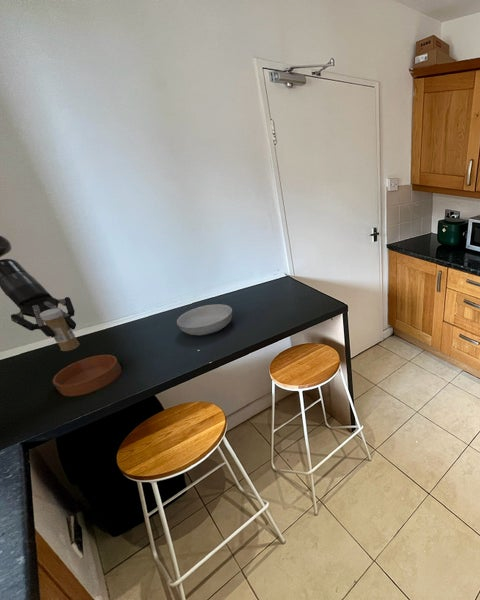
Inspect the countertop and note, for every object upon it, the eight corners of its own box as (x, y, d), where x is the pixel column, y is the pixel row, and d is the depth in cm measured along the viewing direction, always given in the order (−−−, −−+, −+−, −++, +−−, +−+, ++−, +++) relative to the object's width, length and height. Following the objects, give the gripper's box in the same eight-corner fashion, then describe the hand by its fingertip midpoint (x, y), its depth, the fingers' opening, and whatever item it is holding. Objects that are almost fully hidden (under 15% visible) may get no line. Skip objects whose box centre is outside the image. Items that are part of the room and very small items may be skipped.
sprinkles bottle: (84, 344, 103) (63, 308, 97) (68, 352, 99) (46, 315, 93) (72, 342, 103) (52, 307, 97) (57, 350, 100) (34, 314, 93)
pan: (63, 404, 98) (55, 393, 96) (56, 381, 108) (50, 371, 106) (126, 377, 109) (121, 367, 107) (116, 359, 119) (111, 349, 117)
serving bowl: (245, 323, 141) (241, 310, 138) (198, 347, 125) (193, 332, 122) (218, 312, 151) (214, 299, 147) (171, 332, 135) (166, 319, 131)
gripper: (-12, 293, 88) (32, 338, 89) (54, 275, 100) (92, 316, 101) (-8, 305, 93) (33, 349, 94) (55, 287, 104) (91, 326, 105)
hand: (63, 331), depth 97 cm, fingers closed on sprinkles bottle, 4 cm apart
